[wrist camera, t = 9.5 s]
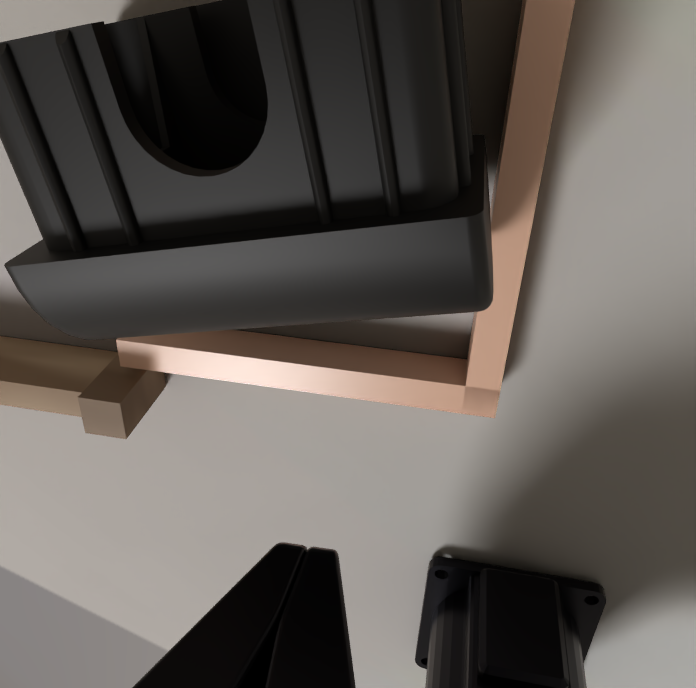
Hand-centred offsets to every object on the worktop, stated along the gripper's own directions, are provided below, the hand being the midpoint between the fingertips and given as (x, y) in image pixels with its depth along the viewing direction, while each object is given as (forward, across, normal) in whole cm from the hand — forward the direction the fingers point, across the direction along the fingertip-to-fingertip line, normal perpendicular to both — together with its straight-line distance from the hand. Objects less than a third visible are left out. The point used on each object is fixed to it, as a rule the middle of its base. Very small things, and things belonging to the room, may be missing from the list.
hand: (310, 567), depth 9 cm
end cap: (+12, +3, -3) cm, 13 cm away
